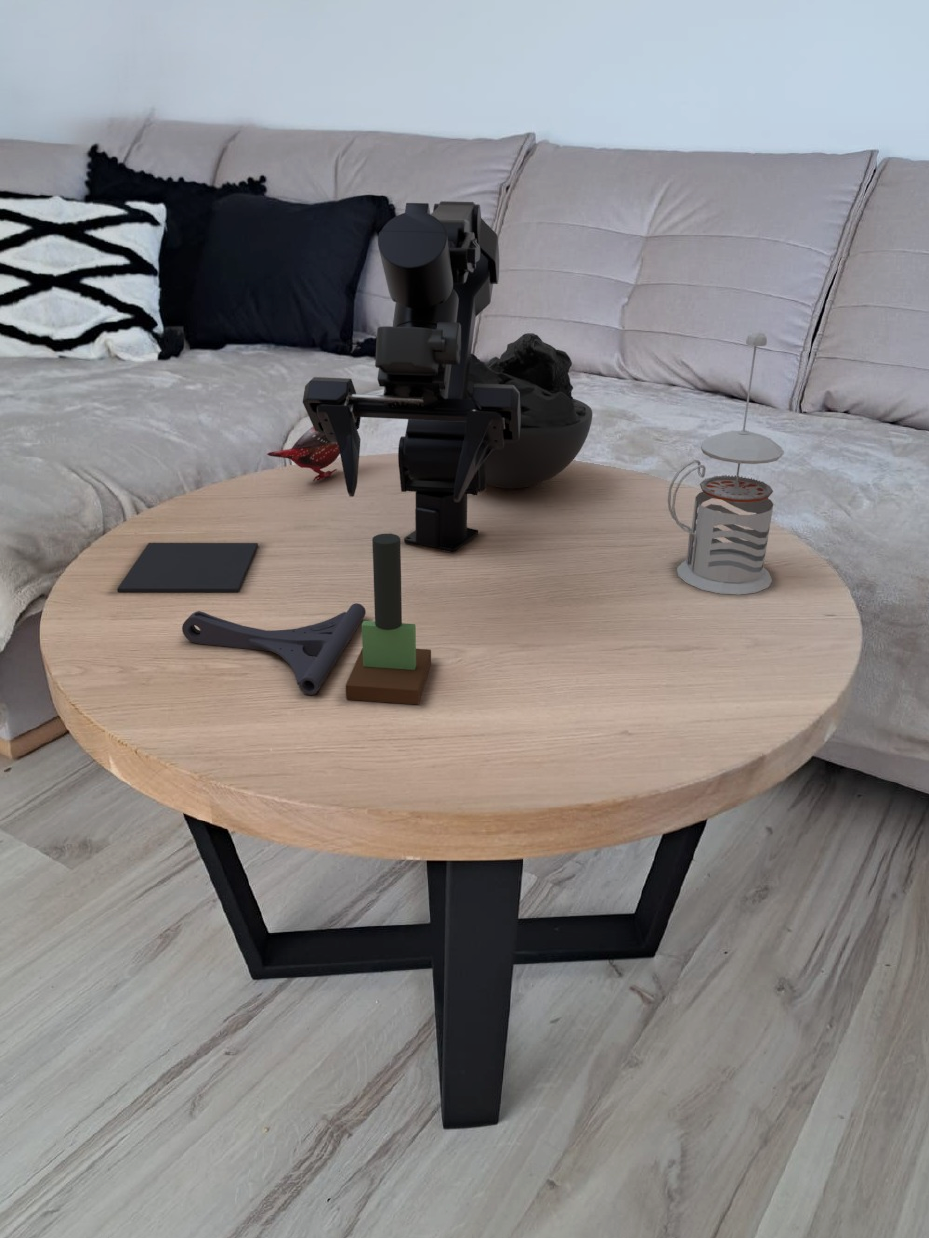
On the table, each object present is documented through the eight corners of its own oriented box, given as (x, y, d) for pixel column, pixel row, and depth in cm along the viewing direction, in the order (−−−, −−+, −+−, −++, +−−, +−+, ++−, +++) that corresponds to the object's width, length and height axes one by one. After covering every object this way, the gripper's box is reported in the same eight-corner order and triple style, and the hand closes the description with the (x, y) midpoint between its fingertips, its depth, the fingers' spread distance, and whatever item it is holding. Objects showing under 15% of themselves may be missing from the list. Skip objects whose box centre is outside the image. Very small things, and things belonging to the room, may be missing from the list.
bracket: (218, 605, 97) (215, 579, 96) (366, 619, 94) (365, 592, 93) (150, 679, 84) (146, 650, 83) (319, 697, 82) (316, 668, 81)
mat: (149, 546, 110) (148, 542, 110) (258, 546, 110) (257, 542, 110) (117, 592, 99) (116, 588, 99) (238, 592, 100) (237, 588, 99)
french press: (786, 593, 101) (830, 341, 89) (674, 596, 100) (704, 343, 88) (753, 555, 109) (788, 321, 98) (649, 557, 108) (673, 322, 97)
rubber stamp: (363, 658, 88) (358, 520, 82) (431, 663, 87) (430, 524, 81) (346, 699, 81) (338, 553, 76) (418, 705, 81) (416, 557, 75)
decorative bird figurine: (363, 466, 136) (361, 393, 131) (280, 504, 122) (274, 424, 118) (346, 462, 137) (343, 390, 133) (261, 500, 123) (255, 421, 119)
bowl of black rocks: (606, 473, 134) (617, 330, 126) (557, 521, 118) (566, 361, 110) (471, 453, 142) (473, 317, 133) (407, 496, 125) (404, 344, 117)
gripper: (301, 281, 83) (272, 447, 79) (523, 287, 81) (508, 459, 77) (328, 356, 94) (305, 506, 89) (526, 363, 92) (512, 518, 87)
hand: (403, 497), depth 85 cm, fingers open, 9 cm apart
